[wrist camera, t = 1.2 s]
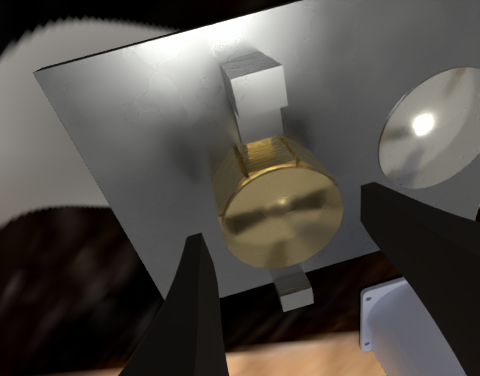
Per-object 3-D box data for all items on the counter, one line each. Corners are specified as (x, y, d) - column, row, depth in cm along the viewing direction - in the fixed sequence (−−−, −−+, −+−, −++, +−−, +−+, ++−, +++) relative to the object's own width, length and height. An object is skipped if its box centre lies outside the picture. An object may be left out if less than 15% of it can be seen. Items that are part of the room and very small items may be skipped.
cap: (319, 230, 19) (345, 272, 16) (234, 255, 19) (245, 302, 16) (305, 88, 14) (340, 112, 11) (190, 120, 14) (195, 152, 11)
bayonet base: (463, 213, 22) (518, 254, 18) (172, 300, 21) (171, 361, 18) (534, -64, 13) (667, -87, 10) (42, 67, 13) (-12, 95, 9)
